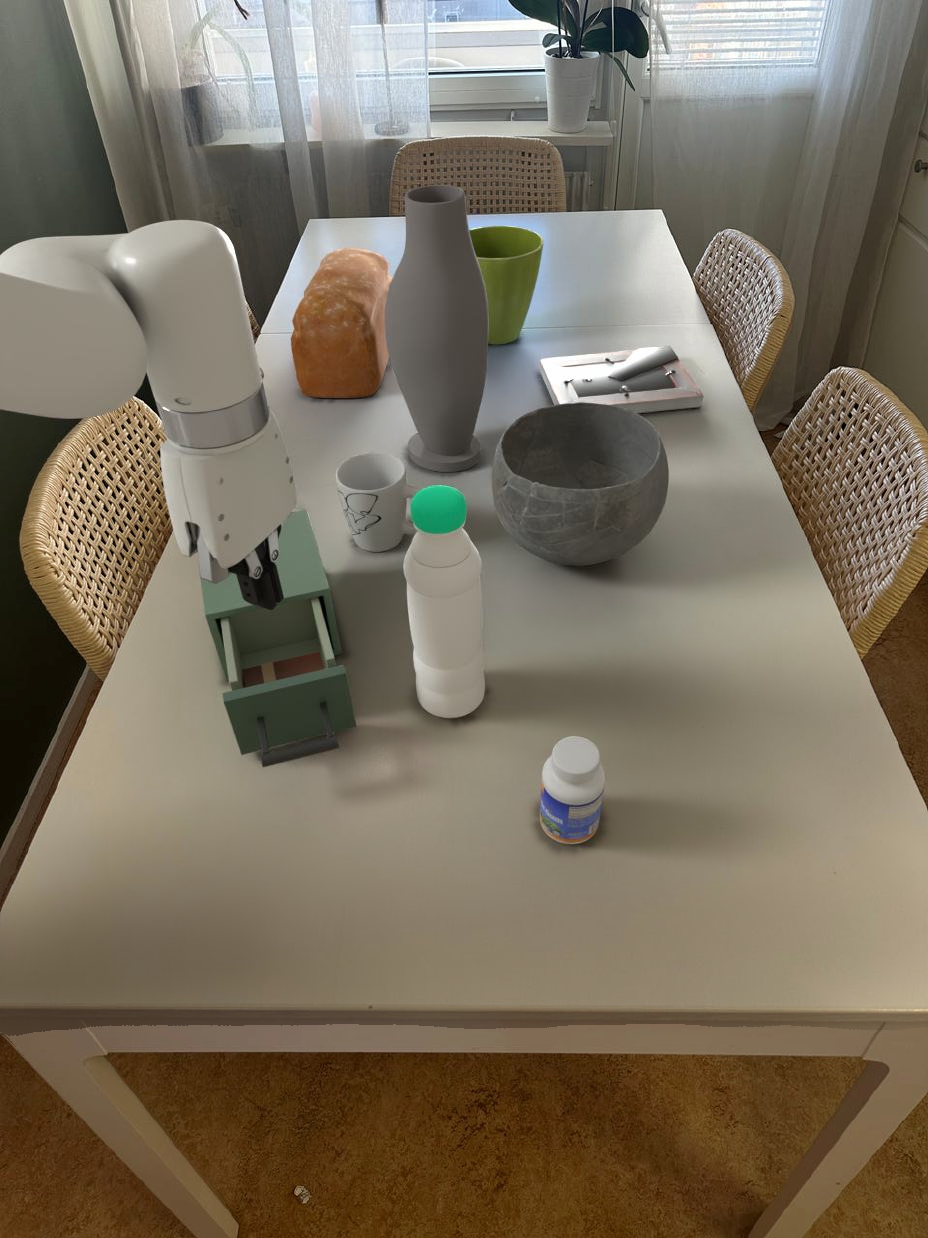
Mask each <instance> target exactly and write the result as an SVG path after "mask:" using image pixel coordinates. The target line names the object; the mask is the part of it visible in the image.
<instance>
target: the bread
mask: <svg viewBox="0 0 928 1238" xmlns="http://www.w3.org/2000/svg"><path fill="white" fill-rule="evenodd" d="M392 278H393V276H392V275H390V263H389V261H388V260H387V258H386V257H385V256H384V255H383V254H380V253H378V252H374V251H372V250H368V249H365V248H352V247H351V248H349V247H345V248H340V249H336V250H332V251H331V252H329V253H328V254H326V255H325V256H323V258H322V259H321V261H320V263H319V267H318V268H317V270H316V272H314V275H313V277H312V278H311V280H310V282H309V283H308V285H307V286H306V287H305V289H304V291H303V297H302V299H301V300H300V302H299V304H298V306H297V307H296V310H295V312H294V314H293V317H292V320H291V322H292V326H293V331H292V333H291V336H290V349H291V354H292V360H293V366H294V371H295V376H296V381H297V383H298V386H299V389H300V391H301V393H302V395H305V396H308V397H311V398H323V399H354V398H355V399H357V398H365V397H368V396H372V395H375V393H377V392H376V391H378V389H379V387H381V385H382V383H383V379H384V375H385V372H386V369H387V366H388V363H389V361H390V359H389V355H388V351H387V345H386V338H385V305H386V297H387V292H388V289H389V286H390V283H391V281H392Z"/></svg>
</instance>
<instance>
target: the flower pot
mask: <svg viewBox="0 0 928 1238" xmlns="http://www.w3.org/2000/svg"><path fill="white" fill-rule="evenodd" d="M469 232H470V236H471V240H472V244H473V248H474V251H475V254H476V257H477V260H478V263H479V266H480V269H481V272H482V275H483V279H484V283H485V288H486V293H487V301H488V319H489V325H488V345H506V344H511V343H513V342H514V341H516V340H517V339H518V338H519V336H520V333H521V331H522V329H523V326H524V325H525V321H526V318H527V315H528V313H529V309H530V306H531V303H532V300H533V296H534V292H535V289H536V285H537V281H538V278H539V277H538V276H539V272H540V267H541V261H542V257H543V256H542V255H543V250H544V244H545V243H544V242H545V241H544V238H543V237H542V236H541V235H540V233H538V232H536V231H533V230H532V229H529V228H524V227H519V226H514V225H513V226H512V225H490V226H482V227H475V228H472V229H469Z"/></svg>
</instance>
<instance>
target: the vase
mask: <svg viewBox="0 0 928 1238" xmlns="http://www.w3.org/2000/svg"><path fill="white" fill-rule="evenodd" d="M466 200H467V199H466V193H465V190H464V189H463V188H461V187H458V186H456V185H451V184H427V185H421V186H417V187H414V188H412V189H409V190H408V191H406V193H405V194H404V216H405V243H404V244H405V245H404V251H403V254H402V257H401V259H400V262H399V264H398V266H397V268H396V270H395V271H394V274H393V276H392V281H391V283H390V286H389V289H388V292H387V297H386V305H385V338H386V345H387V351H388V355H389V362H390V366H391V368H392V371H393V375H394V376H395V378H396V382H397V384H398V387H399V390H400V391H401V394H402V396H403V399H404V401H405V404H406V407H407V409H408V411H409V415H410V417H411V419H412V422H413V424H414V427H415V429H416V431H417V432H416V433H414V434H413V435H412V436H410V438H409V439H408V442H407V448H408V450H407V451H408V456H409V458H410V460H411V462H413V463H414V464H416V465H417V466H418V467H421V468H424V469H426V470H429V471H434V472H440V473H455V472H460V471H461V472H462V471H465V470H469V469H470V468H473V467H474V466H476V465H477V464H478V463H479V462H480V461H481V457H482V449H481V443H480V440H479V439H478V438H477V437H476V436H475V435H474V433H475V429H476V426H477V425H476V424H477V422H478V418H479V417H478V416H479V413H480V410H481V405H482V401H483V398H484V392H485V386H486V377H487V370H488V369H487V367H488V366H487V365H488V354H489V353H488V352H489V344H488V325H489V319H488V301H487V293H486V288H485V283H484V279H483V275H482V272H481V269H480V266H479V263H478V260H477V257H476V254H475V251H474V248H473V244H472V240H471V236H470V232H469V230H470V228H469V221H468V213H467V201H466Z"/></svg>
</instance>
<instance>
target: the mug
mask: <svg viewBox="0 0 928 1238" xmlns="http://www.w3.org/2000/svg"><path fill="white" fill-rule="evenodd" d="M335 483H336V487H337V491H338V497H339V500H340V503H341V507H342V511H343V514H344V517H345V520H346V522H347V525H348V528H349V530H350V533H351V535H352V538H353V541H354V542H355V544H356V545H357V546H358V547H359V548H360V549H362V550H364V551H367V552H372V553H381V552H382V553H383V552H386V551H390V550H392V549H394V548H396V547H397V546H398V545H399V544H400V543H401V541H402V539H403V538H404V534H407V535H410V536H415V534H416V533H417V530H416V528H415V527H414V524H413V523H412V522H410V521H409V520H408V519H407V504H408V501H407V499H413V497H414V495H415V494H416V493H417V492H419V491H420V490H422V489H423V488H422V487H419V486H415V485H410V484H408V482H407V468H406V466H405V464H404V462H403V461H402V460H401V459H400V458H399V457H397V456H395V455H392V454H389V453H386V452H374V451H373V452H364V453H360V454H355V455H353V456H351V457H349V458H347V459H345V460H344V461H342V462H341V463H340V465H339V466H338V467H337V469H336V471H335Z"/></svg>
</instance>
